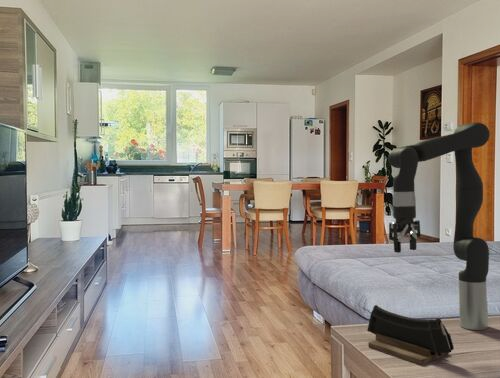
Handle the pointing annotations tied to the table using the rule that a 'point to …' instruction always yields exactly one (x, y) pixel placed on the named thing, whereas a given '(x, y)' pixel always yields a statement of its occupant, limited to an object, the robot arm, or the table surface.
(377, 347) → the stand
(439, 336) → the magazine
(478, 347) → the table surface
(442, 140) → the robot arm
